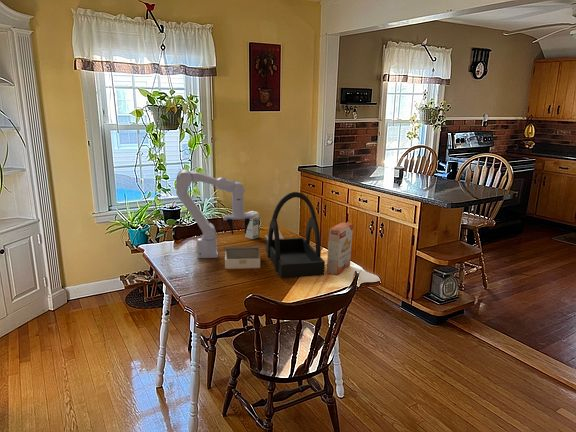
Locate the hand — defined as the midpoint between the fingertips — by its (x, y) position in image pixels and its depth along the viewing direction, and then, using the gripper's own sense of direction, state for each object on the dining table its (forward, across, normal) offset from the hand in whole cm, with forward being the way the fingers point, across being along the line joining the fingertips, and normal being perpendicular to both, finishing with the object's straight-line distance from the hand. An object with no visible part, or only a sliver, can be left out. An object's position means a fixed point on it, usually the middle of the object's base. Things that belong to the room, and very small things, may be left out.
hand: (238, 233), depth 214 cm
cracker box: (+12, -45, +24) cm, 53 cm away
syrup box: (+11, -7, -26) cm, 29 cm away
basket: (+11, -25, +14) cm, 31 cm away
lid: (+3, -1, +13) cm, 13 cm away
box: (+10, -1, +13) cm, 17 cm away
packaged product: (+12, -20, -18) cm, 29 cm away
